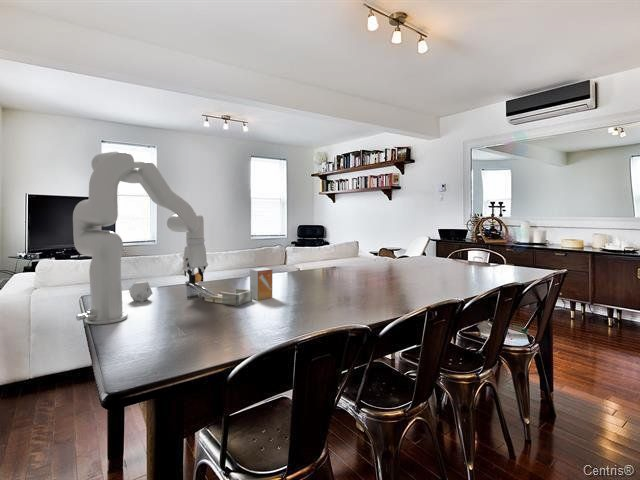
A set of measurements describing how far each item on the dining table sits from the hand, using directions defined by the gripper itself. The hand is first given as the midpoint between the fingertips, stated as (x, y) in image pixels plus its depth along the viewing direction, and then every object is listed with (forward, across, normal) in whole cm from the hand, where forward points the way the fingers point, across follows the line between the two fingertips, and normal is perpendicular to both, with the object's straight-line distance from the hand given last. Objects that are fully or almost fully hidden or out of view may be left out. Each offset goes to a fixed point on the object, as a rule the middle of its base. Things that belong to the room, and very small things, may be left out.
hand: (196, 282), depth 163 cm
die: (+7, +17, -15) cm, 24 cm away
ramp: (+7, 0, +4) cm, 8 cm away
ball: (-2, 0, 0) cm, 2 cm away
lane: (+7, 0, +18) cm, 20 cm away
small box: (+7, -11, +28) cm, 31 cm away
